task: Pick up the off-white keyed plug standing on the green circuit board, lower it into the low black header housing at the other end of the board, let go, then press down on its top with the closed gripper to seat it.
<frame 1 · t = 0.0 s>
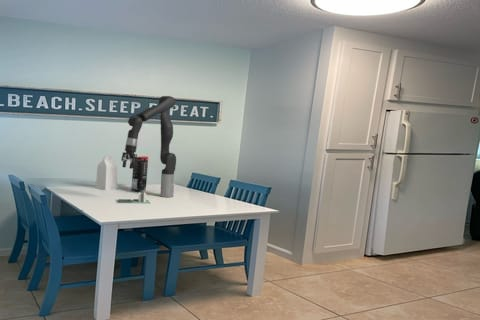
hand: (127, 167, 315), 22 cm above the table, fingers open, 8 cm apart
graphics card box: (139, 190, 365), on the table
plug: (141, 201, 307), point 1 cm above the table, touching board
milk: (106, 188, 363), on the table
board: (132, 203, 305), on the table
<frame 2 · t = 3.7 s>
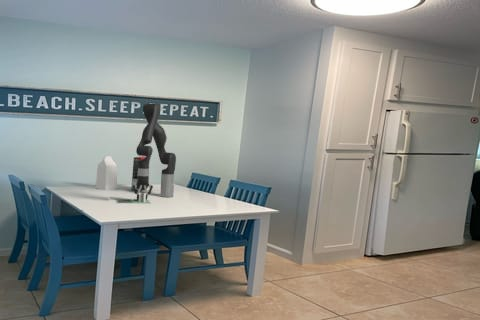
hand: (141, 200, 307), 2 cm above the table, fingers closed on plug, 4 cm apart
plug: (141, 201, 307), point 1 cm above the table, touching board, gripper
everything else where it was.
when the fingers open (3 cm above the table, at t = 11.7 s): plug stays where it is, resting on board.
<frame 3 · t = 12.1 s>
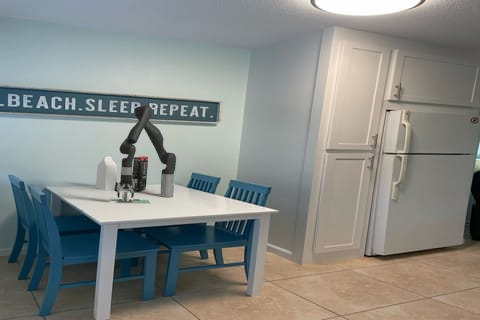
hand: (125, 197, 304), 3 cm above the table, fingers open, 8 cm apart
plug: (125, 201, 304), point 1 cm above the table, touching board
everything else where it was.
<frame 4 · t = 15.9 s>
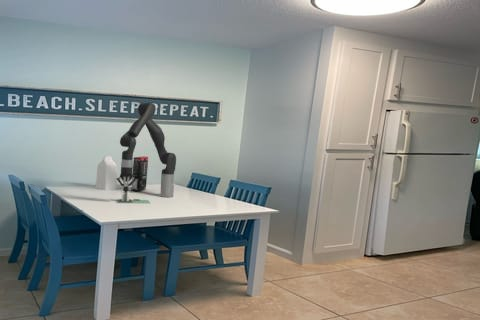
hand: (125, 192, 304), 7 cm above the table, fingers closed
plug: (125, 201, 304), point 1 cm above the table, touching board, gripper
everything else where it was.
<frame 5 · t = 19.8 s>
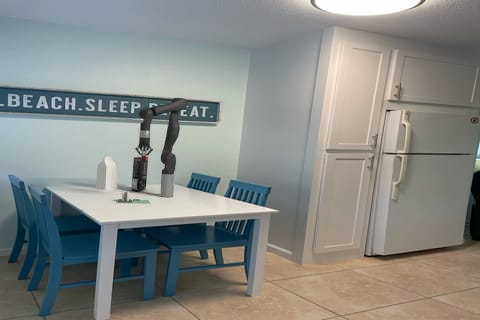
hand: (143, 161, 323), 27 cm above the table, fingers closed
plug: (125, 201, 304), point 1 cm above the table, touching board
everything else where it was.
at the end: plug 0.0 cm from the target spot on the board, point 1.0 cm above the board's base; plug tilted 0°; the gripper is holding nothing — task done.
